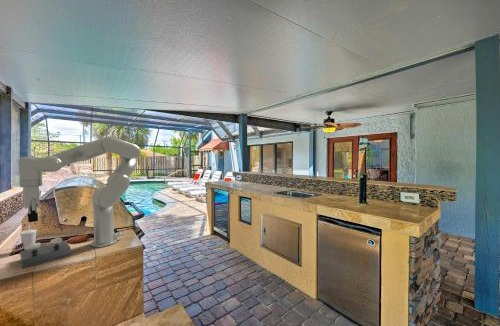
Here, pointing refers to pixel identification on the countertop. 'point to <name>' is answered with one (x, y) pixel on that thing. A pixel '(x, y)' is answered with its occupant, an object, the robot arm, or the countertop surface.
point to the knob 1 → (34, 247)
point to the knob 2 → (56, 242)
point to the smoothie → (28, 237)
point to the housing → (44, 254)
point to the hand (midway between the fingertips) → (33, 221)
